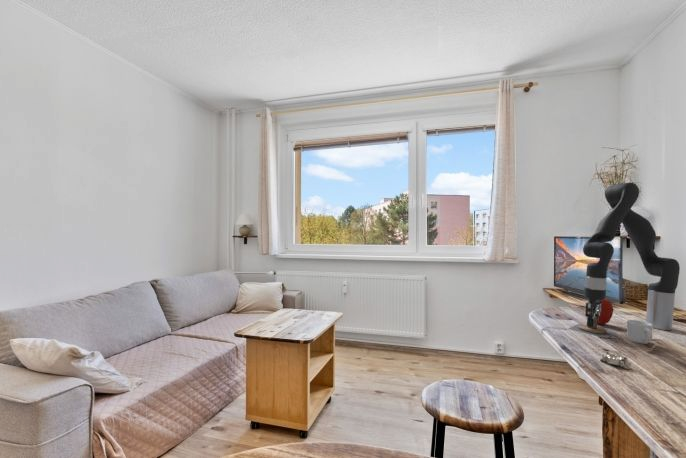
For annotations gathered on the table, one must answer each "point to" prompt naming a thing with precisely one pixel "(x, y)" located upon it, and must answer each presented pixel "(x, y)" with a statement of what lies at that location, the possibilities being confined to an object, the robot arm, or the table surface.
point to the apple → (605, 312)
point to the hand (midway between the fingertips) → (592, 325)
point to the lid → (593, 328)
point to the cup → (639, 331)
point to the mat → (609, 333)
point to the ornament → (616, 360)
